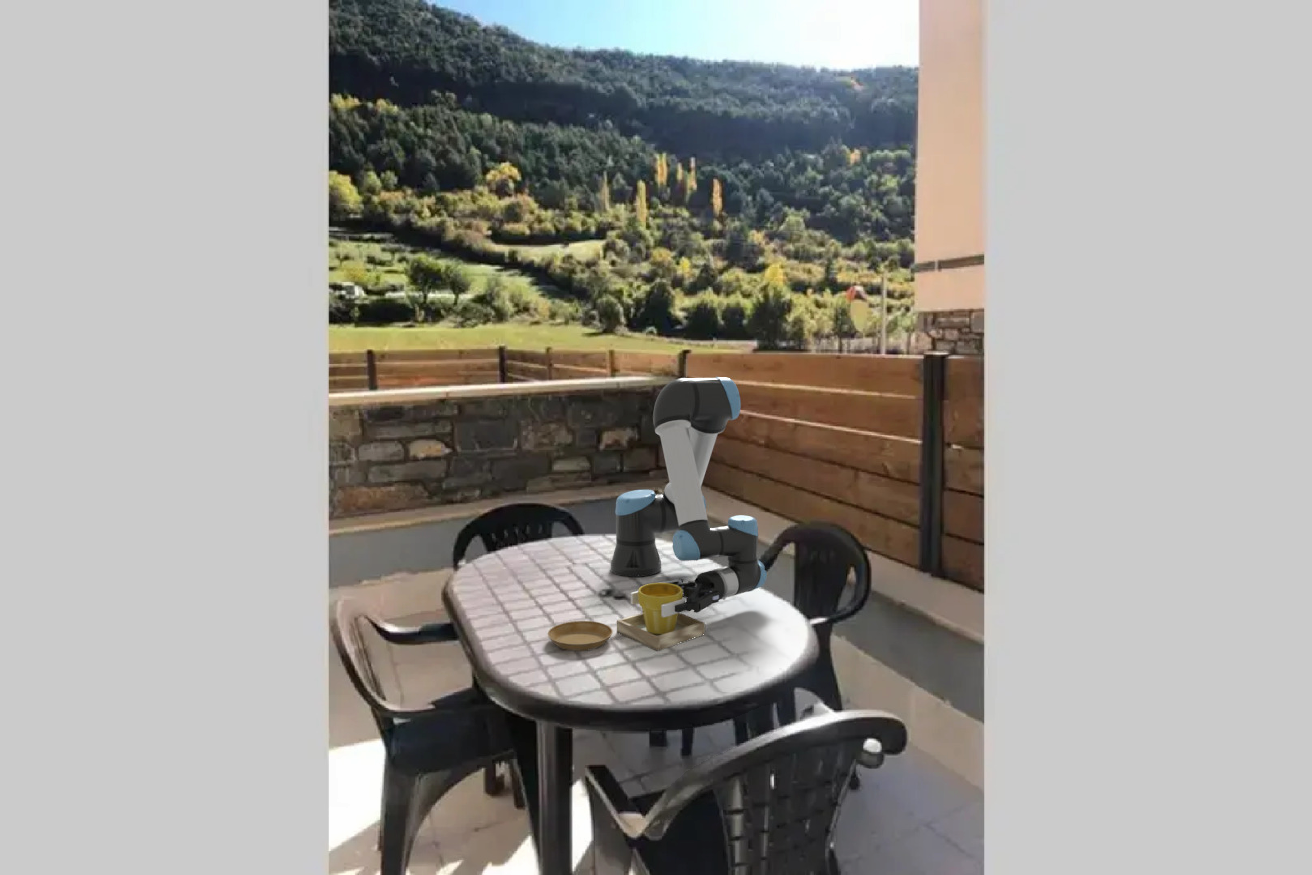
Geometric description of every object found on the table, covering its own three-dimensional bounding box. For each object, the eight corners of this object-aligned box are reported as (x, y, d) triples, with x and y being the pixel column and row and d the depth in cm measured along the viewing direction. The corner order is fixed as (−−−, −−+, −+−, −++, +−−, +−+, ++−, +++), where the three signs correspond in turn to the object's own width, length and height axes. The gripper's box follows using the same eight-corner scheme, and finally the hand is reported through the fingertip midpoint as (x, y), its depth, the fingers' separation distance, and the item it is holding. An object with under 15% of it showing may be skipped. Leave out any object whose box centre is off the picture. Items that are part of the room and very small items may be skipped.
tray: (663, 618, 198) (663, 606, 197) (704, 634, 187) (704, 622, 186) (616, 632, 188) (616, 620, 188) (656, 651, 177) (656, 638, 177)
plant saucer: (553, 630, 191) (553, 620, 190) (615, 631, 190) (615, 620, 190) (542, 655, 176) (542, 643, 176) (609, 655, 175) (609, 644, 175)
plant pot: (634, 636, 183) (634, 595, 182) (642, 620, 193) (642, 581, 192) (679, 639, 182) (679, 597, 180) (684, 622, 192) (685, 583, 190)
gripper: (749, 611, 190) (680, 634, 175) (684, 588, 207) (616, 607, 193) (749, 581, 189) (680, 601, 175) (684, 560, 206) (616, 577, 192)
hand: (646, 604), depth 184 cm, fingers open, 10 cm apart
